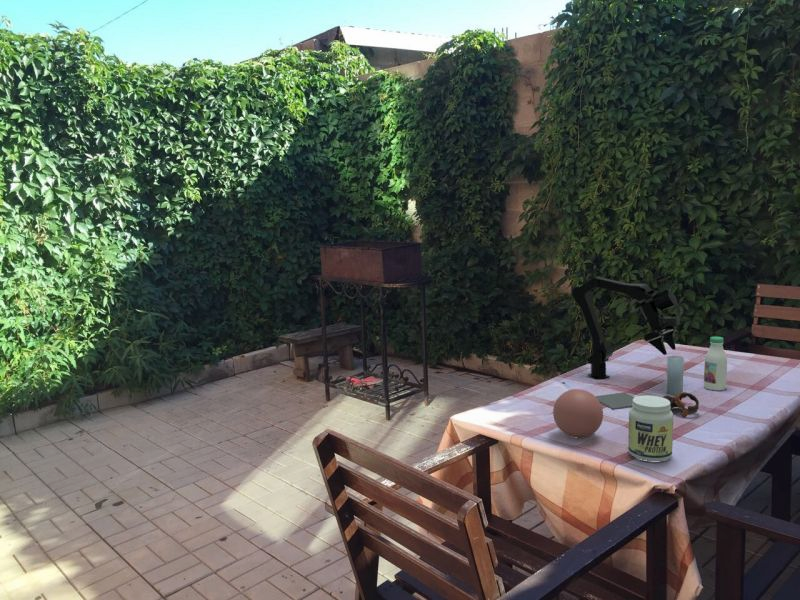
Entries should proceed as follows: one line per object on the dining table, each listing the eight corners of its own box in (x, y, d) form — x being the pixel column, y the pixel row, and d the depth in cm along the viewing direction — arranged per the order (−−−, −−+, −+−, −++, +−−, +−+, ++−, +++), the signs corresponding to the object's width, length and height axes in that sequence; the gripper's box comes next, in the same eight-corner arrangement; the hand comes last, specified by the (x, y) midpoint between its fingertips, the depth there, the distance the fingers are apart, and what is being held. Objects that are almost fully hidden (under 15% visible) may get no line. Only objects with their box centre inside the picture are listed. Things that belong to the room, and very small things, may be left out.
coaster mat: (591, 397, 242) (591, 396, 242) (624, 393, 245) (624, 392, 245) (612, 409, 228) (612, 408, 228) (646, 404, 232) (646, 403, 232)
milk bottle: (721, 384, 250) (723, 335, 247) (729, 391, 243) (731, 339, 239) (700, 385, 251) (702, 335, 248) (708, 391, 244) (710, 340, 240)
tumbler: (663, 392, 245) (664, 356, 242) (676, 390, 246) (677, 355, 244) (673, 396, 239) (674, 360, 237) (685, 394, 241) (687, 358, 238)
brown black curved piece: (691, 409, 227) (700, 393, 222) (693, 428, 220) (702, 413, 215) (656, 399, 229) (665, 384, 224) (657, 419, 222) (666, 403, 217)
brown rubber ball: (615, 428, 211) (615, 383, 208) (591, 449, 195) (592, 401, 193) (570, 420, 220) (570, 377, 218) (545, 439, 205) (544, 393, 202)
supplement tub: (631, 463, 185) (632, 407, 182) (625, 446, 196) (626, 393, 194) (676, 465, 182) (678, 408, 179) (667, 448, 194) (669, 394, 191)
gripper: (662, 311, 236) (681, 350, 234) (680, 303, 250) (698, 340, 247) (635, 321, 244) (653, 359, 241) (654, 313, 257) (671, 349, 255)
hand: (670, 352), depth 246 cm, fingers open, 9 cm apart
